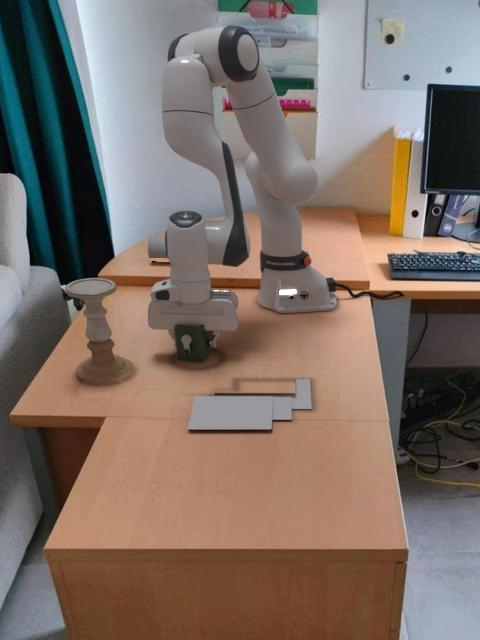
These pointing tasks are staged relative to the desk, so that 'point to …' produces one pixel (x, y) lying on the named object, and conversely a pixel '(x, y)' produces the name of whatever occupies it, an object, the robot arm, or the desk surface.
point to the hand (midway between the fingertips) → (195, 346)
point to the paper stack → (248, 408)
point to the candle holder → (97, 330)
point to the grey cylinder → (156, 248)
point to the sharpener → (193, 342)
